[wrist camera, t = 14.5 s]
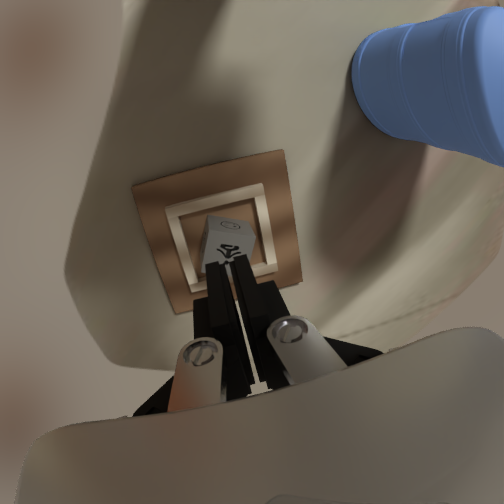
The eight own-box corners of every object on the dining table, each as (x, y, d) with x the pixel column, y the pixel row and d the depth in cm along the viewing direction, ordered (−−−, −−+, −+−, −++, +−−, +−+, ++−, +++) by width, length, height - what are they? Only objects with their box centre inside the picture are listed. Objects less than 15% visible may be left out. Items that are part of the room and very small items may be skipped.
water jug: (411, 158, 38) (582, 234, 13) (328, 95, 33) (543, 104, 8) (449, 78, 33) (609, 102, 8) (375, 10, 28) (552, -34, 3)
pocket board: (132, 185, 33) (129, 189, 32) (281, 149, 35) (286, 151, 33) (175, 309, 42) (175, 317, 40) (300, 277, 43) (305, 285, 41)
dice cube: (248, 221, 37) (256, 237, 32) (239, 258, 39) (245, 278, 34) (207, 214, 36) (209, 229, 31) (200, 252, 38) (201, 272, 33)
